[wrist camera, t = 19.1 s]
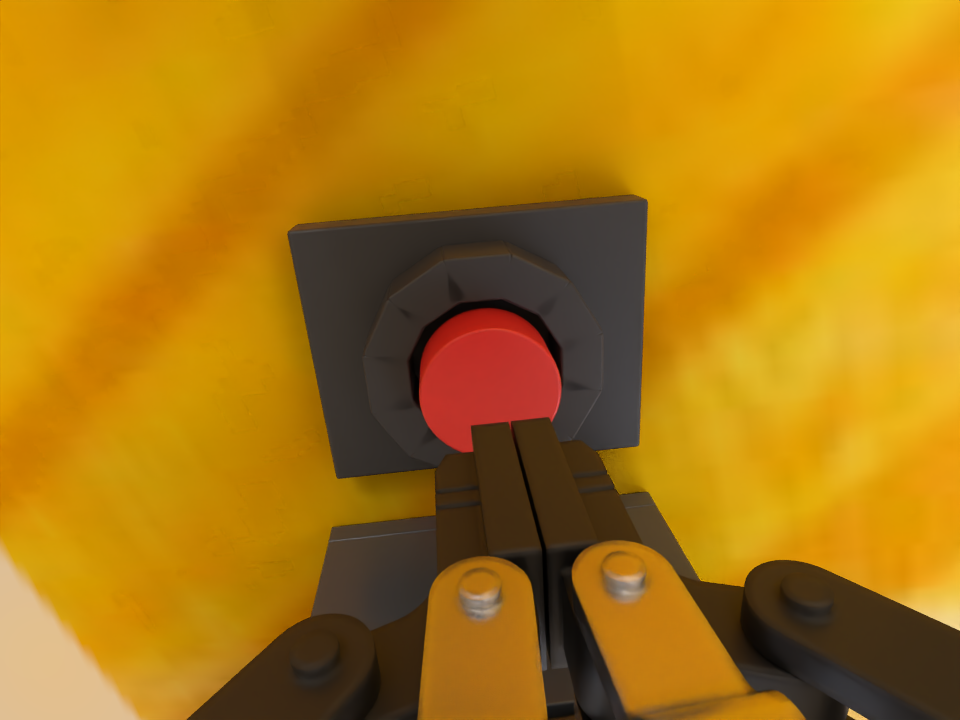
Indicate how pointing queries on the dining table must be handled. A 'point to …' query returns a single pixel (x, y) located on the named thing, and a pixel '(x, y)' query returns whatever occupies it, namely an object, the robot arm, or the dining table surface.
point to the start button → (485, 375)
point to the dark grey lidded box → (413, 568)
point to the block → (465, 286)
